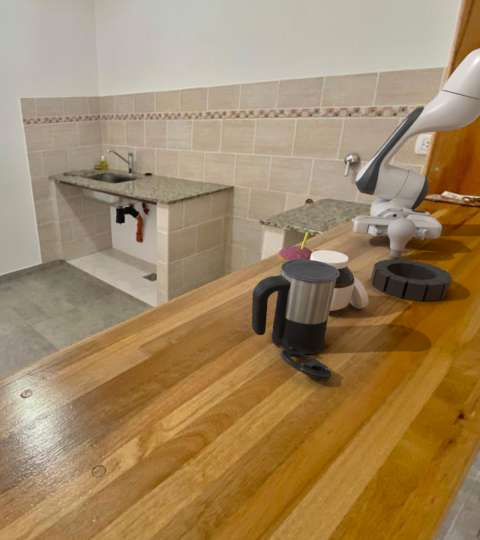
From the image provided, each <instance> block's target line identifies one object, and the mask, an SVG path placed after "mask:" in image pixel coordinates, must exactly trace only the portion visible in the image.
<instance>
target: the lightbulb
mask: <svg viewBox="0 0 480 540" xmlns="http://www.w3.org/2000/svg"><path fill="white" fill-rule="evenodd" d="M387 233H388V236H387V237H388V238H389V249H390V250H389V256H390V257H391V259H399V258H401V257H402V254H403V251H404V250H405V247H406V246H407V244H408V242H409V241H411V240H412V239H413V238H414V237H413V236H414V235H415V233H416V225H415V224H414V222H412V221H411V220H409V219H405V218H400V219H396V220H394V221H392V222H391V223H390V224H389V226H388V229H387Z"/></svg>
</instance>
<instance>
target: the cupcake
mask: <svg viewBox="0 0 480 540" xmlns="http://www.w3.org/2000/svg"><path fill="white" fill-rule="evenodd" d="M309 235H310V229H308V230H307V231H306V232H305V235H304V238H303V241H302V244H301V245H289V246H286V247H283V248H282V249H280V250H279V252H278V254H277V258H278V261H279V262H280V263H281V265H282V264H283V263H285V262H287V261H290V260H302V259H305V260H310V258H311V254H312V253H313V252H314V251H312V250H311V249H309V248H307V247H306V244H307V241H308V237H309Z"/></svg>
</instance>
